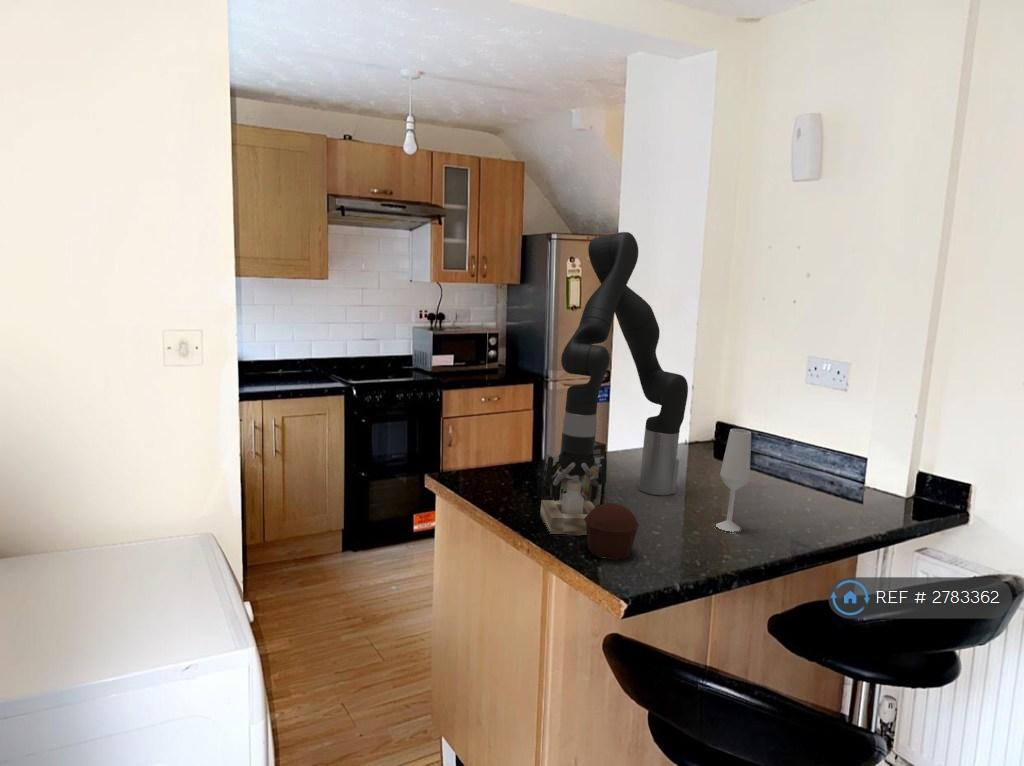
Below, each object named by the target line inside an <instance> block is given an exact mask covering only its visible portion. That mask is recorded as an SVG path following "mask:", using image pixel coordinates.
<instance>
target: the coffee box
mask: <svg viewBox="0 0 1024 766" xmlns="http://www.w3.org/2000/svg"><path fill="white" fill-rule="evenodd" d="M606 450H607V444H606V443H603V442H600V441H597V440H595V445H594V458H599V457H600V456H603V457H604V458H605V459H606ZM598 470H599V467H598V466H597V465H596V463H594V465H593V466H592V467H591V468H590V471H591V472H592V474H593V475H594V477H595V478H598ZM569 480H578V481H580V482H581V483H582V484H581V491H580V495H581V496H582V497H583V498H584V501H589V499H588V495H589V485H590V484H591V482H590V480H589V479H588V477H587V476H586V474H585V475H583V476H577V475H575V476H569V475H568V474H567V475H566V476H565V478H563V479H562V480H561V481H560V489H559V499H558V500H562V498H563V495H564V494H566V493H567V482H568V481H569ZM602 487H603V484H600V485H598V487H597V496H596V499H594V501H593V502H591V503H592V504H593V505H594V506H595V507H597V506H599V505H601V496H602Z"/></svg>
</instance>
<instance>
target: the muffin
mask: <svg viewBox="0 0 1024 766" xmlns="http://www.w3.org/2000/svg"><path fill="white" fill-rule="evenodd" d="M584 520H585V522H586V529H587V536H586V542H587V549H588V551H589V550H590V551H589V552H591V553H593V554H596V555H598V556H600V557H606V558H611V559H617V558H626V559H627V557H628V556H629V555H628V554H630V555H631V552H632V549H633V546H634V541H635V539H636V533H637V531H638V530H637V529H638V528H639V527H640V524H639V522H638V520H637V519H636V517H635V515H634V514H633V512H632V510H630V509H629V508H627V507H625V506H624V505H622V504H618V503H611V502H610V503H603V504H600V505H597V506H595V508H594V509H593V510H592V511H591V512H590V513H589V514H588V515H587V516H586V517H585V518H584ZM591 553H590V554H591ZM593 554H592V555H593ZM596 555H595V556H596ZM627 555H628V556H627ZM598 556H597V557H598ZM600 557H599V558H600ZM611 559H610V560H611Z"/></svg>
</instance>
